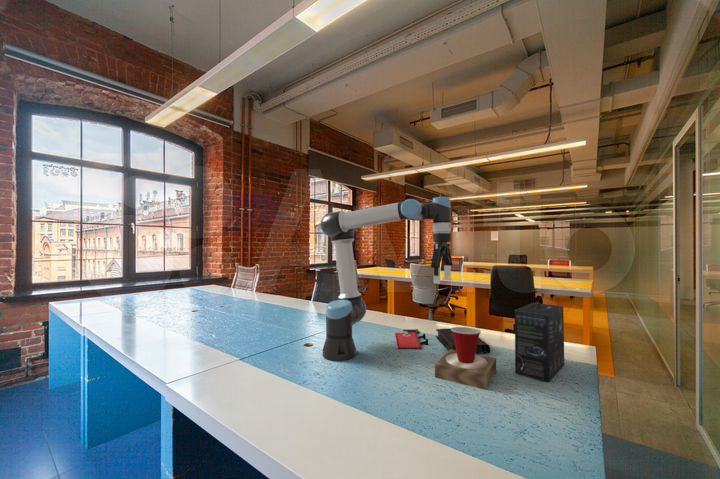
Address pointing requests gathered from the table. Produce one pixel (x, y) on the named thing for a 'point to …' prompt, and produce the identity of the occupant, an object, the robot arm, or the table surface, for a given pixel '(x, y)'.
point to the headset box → (539, 340)
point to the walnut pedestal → (466, 370)
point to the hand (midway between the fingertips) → (442, 281)
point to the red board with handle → (410, 339)
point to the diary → (448, 341)
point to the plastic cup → (465, 343)
